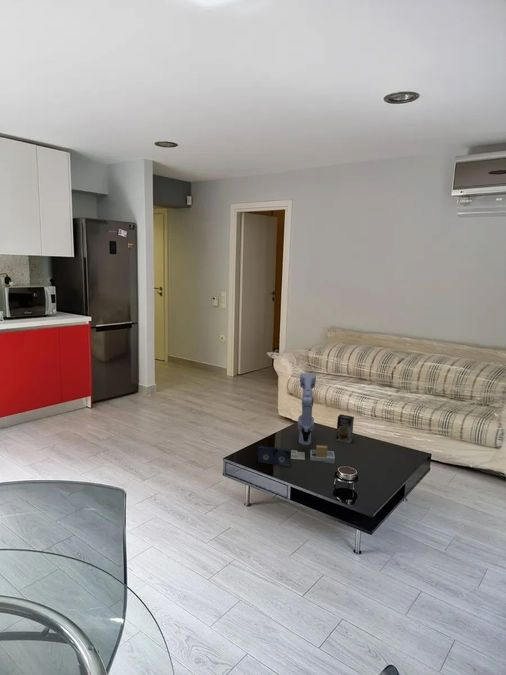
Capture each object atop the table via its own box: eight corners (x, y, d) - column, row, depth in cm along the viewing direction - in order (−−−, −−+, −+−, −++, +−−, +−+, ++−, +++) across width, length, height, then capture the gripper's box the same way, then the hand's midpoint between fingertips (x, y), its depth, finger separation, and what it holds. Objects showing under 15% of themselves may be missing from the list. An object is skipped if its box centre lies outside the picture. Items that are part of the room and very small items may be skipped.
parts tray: (310, 454, 266) (310, 449, 265) (333, 456, 265) (333, 451, 264) (310, 461, 256) (310, 456, 256) (334, 463, 255) (334, 458, 254)
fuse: (315, 456, 262) (316, 445, 261) (326, 457, 262) (326, 445, 260) (316, 458, 259) (316, 447, 258) (326, 459, 259) (327, 448, 257)
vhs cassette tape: (290, 466, 250) (291, 449, 248) (289, 469, 247) (290, 451, 245) (258, 461, 254) (259, 445, 253) (257, 464, 252) (257, 447, 250)
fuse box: (274, 451, 268) (274, 447, 268) (304, 453, 266) (304, 449, 266) (273, 458, 258) (273, 454, 258) (304, 461, 257) (304, 457, 256)
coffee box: (335, 440, 287) (337, 416, 285) (338, 437, 293) (340, 413, 290) (349, 443, 283) (351, 419, 281) (352, 440, 289) (354, 416, 286)
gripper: (299, 412, 270) (298, 433, 272) (299, 420, 256) (298, 443, 258) (311, 413, 269) (310, 434, 272) (312, 421, 255) (310, 444, 257)
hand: (305, 438), depth 265 cm, fingers open, 7 cm apart
